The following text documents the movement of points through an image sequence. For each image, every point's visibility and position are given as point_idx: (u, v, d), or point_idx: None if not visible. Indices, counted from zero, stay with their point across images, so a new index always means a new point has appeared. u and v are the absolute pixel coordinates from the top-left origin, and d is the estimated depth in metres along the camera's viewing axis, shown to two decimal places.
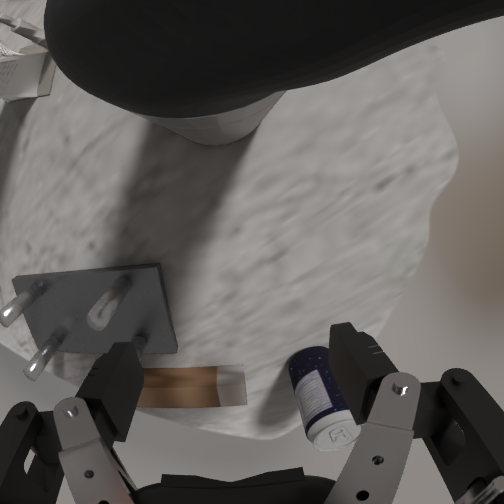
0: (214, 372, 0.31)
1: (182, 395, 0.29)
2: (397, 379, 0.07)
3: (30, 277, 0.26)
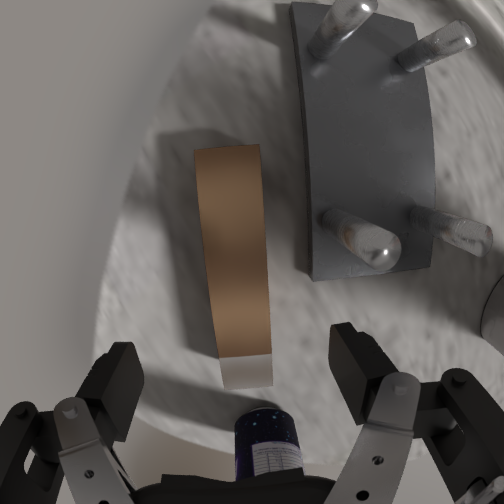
0: None
1: (246, 301, 0.17)
2: (397, 379, 0.07)
3: None
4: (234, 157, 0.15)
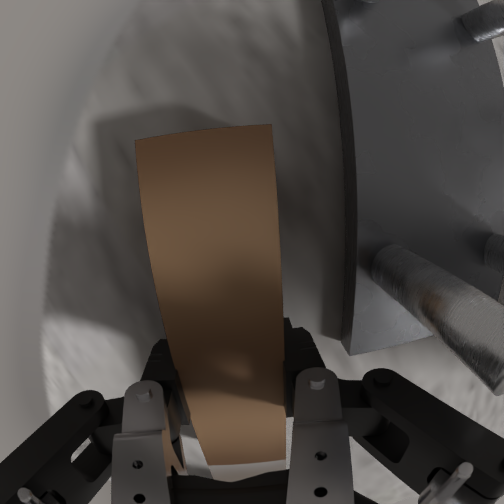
0: None
1: (247, 408, 0.09)
2: (311, 375, 0.08)
3: None
4: (219, 151, 0.07)
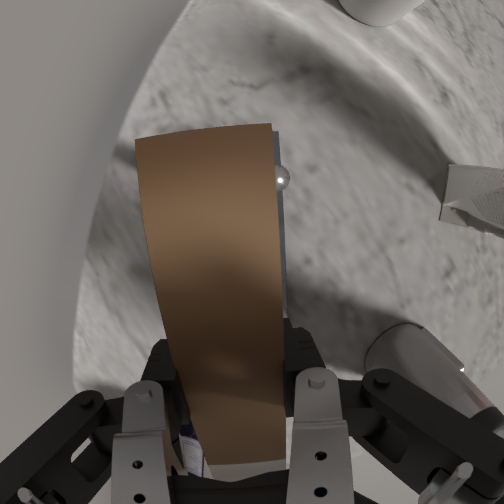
0: None
1: (247, 407, 0.09)
2: (311, 375, 0.08)
3: None
4: (218, 150, 0.07)
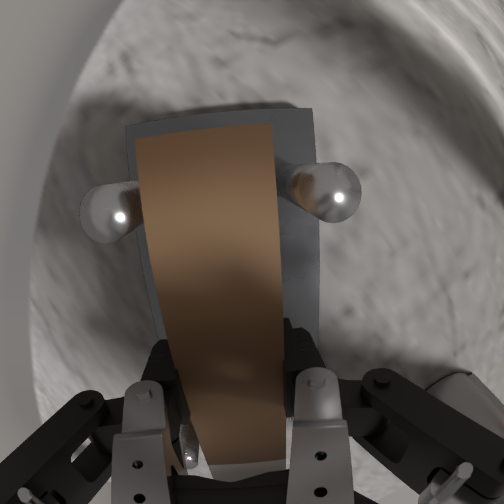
0: None
1: (247, 407, 0.09)
2: (311, 375, 0.08)
3: None
4: (218, 150, 0.07)
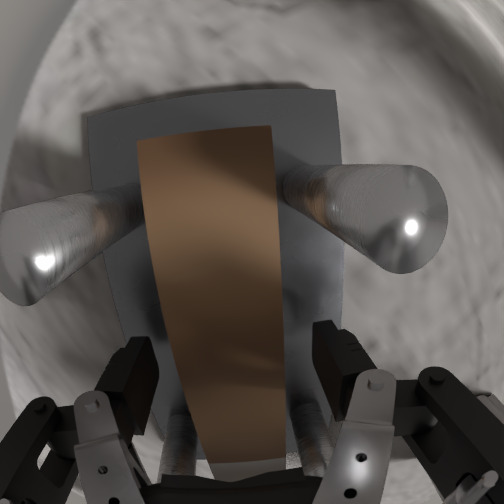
0: None
1: (247, 405, 0.09)
2: (372, 376, 0.07)
3: None
4: (219, 152, 0.07)
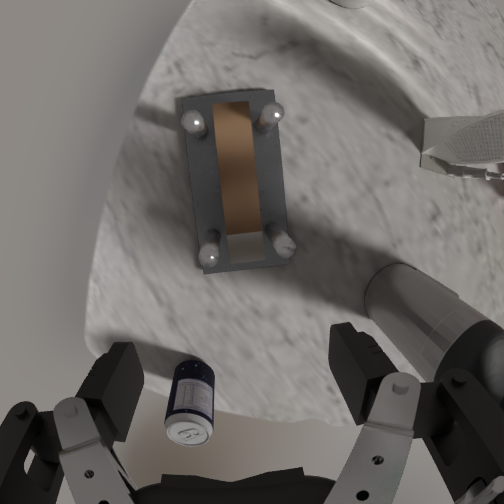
0: None
1: (243, 192, 0.28)
2: (397, 379, 0.07)
3: None
4: (235, 107, 0.25)
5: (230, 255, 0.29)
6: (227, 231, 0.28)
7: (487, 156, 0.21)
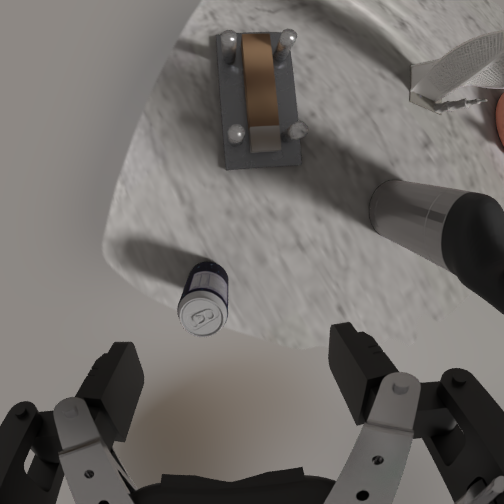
0: None
1: (265, 94, 0.31)
2: (397, 379, 0.07)
3: None
4: (259, 37, 0.29)
5: (252, 143, 0.33)
6: (250, 123, 0.32)
7: (460, 79, 0.25)
